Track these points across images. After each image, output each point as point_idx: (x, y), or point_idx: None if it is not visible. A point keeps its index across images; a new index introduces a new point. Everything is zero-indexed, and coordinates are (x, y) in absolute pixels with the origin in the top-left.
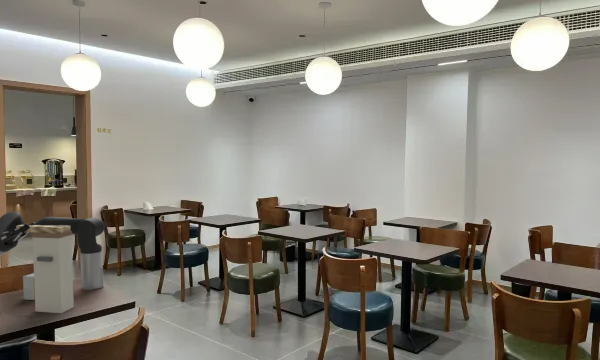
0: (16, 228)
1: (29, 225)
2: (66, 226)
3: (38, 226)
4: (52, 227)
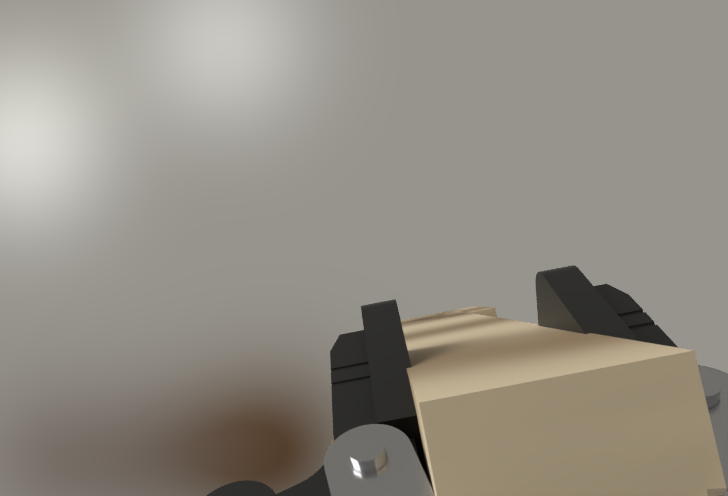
0: (716, 447)
1: (467, 347)
2: (408, 319)
3: (494, 320)
4: (489, 307)
